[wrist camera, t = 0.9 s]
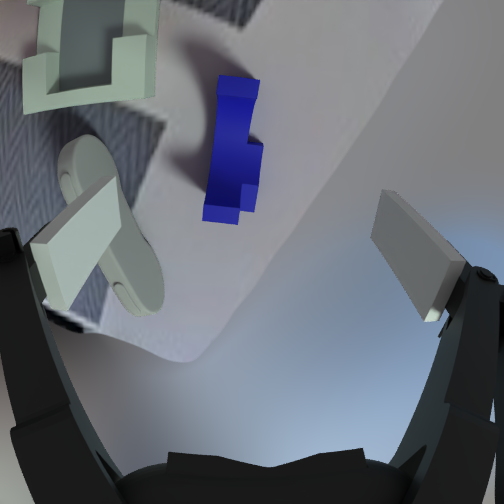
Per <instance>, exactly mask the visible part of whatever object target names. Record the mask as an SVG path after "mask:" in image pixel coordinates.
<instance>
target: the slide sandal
mask: <svg viewBox="0 0 504 504" xmlns="http://www.w3.org/2000/svg"><path fill="white" fill-rule="evenodd" d="M57 174H58V181H59V185H60V189H61V191H62V194H63V196H64V199H65V201H66V203H67V205H70V204H71V203H72V202H73V201H74V200H75V199H76V198H77V197H78V196H80V195H81V194H82V193H83V192H84V191H85V190H86V189H88V188H89V187H90V186H91V185H92V184H94V183H95V182H96V181H97V180H98V179H99V178H101V177H102V176H116V184H117V194H118V203H119V212H120V220H121V228H120V229H119V231H118V232H117V234H116V235H115V237H114V238H113V239H112V241H111V242H110V244H109V245H108V247H107V248H106V250H105V251H104V253H103V254H102V256H101V257H100V259H99V261H98V262H97V263H98V265H99V267H100V269H101V270H102V272H103V274H104V276H105V277H106V279H107V281H108V282H109V284H110V286H111V287H112V289H113V291H114V292H115V294H116V295H117V297H118V299H119V300H120V302H121V303H122V305H123V306H124V307H125V309H126V310H127V311H128V312H129V313H131V314H132V315H134V316H137V317H142V316H147V315H152V314H156V313H157V312H159V311H160V309H161V308H162V305H163V302H164V280H163V275H162V270H161V267H160V264H159V261H158V259H157V257H156V255H155V253H154V251H153V249H152V248H151V246H150V245H149V244H148V243H147V242H146V241H145V240H144V238H143V236H142V234H141V232H140V230H139V228H138V226H137V223H136V221H135V219H134V217H133V215H132V212H131V210H130V208H129V206H128V204H127V201H126V199H125V197H124V194H123V192H122V189H121V185H120V179H119V175H118V171H117V168H116V165H115V162H114V160H113V158H112V156H111V154H110V152H109V151H108V149H107V148H106V146H105V145H104V144H103V143H102V142H101V141H100V140H99V139H98V138H97V137H95V136H93V135H89V134H86V135H82V136H80V137H78V138H76V139H74V140H72V141H70V142H69V143H67V144H66V145H65V146H64V147H63V148H62V150H61V152H60V154H59V158H58V164H57Z"/></svg>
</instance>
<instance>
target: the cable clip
mask: <svg viewBox="0 0 504 504" xmlns="http://www.w3.org/2000/svg"><path fill="white" fill-rule="evenodd" d="M259 84H260V80H256V79H249V78H242V77H233V76H224V75H219V79H218V86H217V93H216V94H217V99H218V101H217V117H216V127H215V135H214V144H213V152H212V159H211V166H210V173H209V179H208V185H207V191H206V196H205V201H204V206H203V218H202V221H209V222H218V223H226V224H235V225H238V220H239V213H240V211H247V212H254V210H255V204H256V199H257V193H258V187H259V176H260V167H261V160H262V153H263V147H264V146H263V143H257V142H250V141H248V135H249V129H250V124H251V118H252V113H253V109H254V105H255V101H256V99H257V96H258V90H259Z"/></svg>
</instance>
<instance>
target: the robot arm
mask: <svg viewBox="0 0 504 504" xmlns="http://www.w3.org/2000/svg"><path fill="white" fill-rule="evenodd" d="M120 228H121V220H120V212H119V203H118V194H117V184H116V176H102V177H101V178H99V179H98V180H97V181H96V182H95V183H94V184H92V185H91V186H90V187H89V188H88V189H86V190H85V191H84V192H83V193H82V194H81V195H80V196H78V197H77V198H76V199H75V200H74V201H73V202H72V203H71V204H70V205H68V206H67V207H66V208H65V209H64V210H63V211H62V212H61V213H60V214H59V215H58V216H57V217H56V218H54V219H53V220H52V221H50V222H49V223H47V224H45V225H44V226H43V227H42V228H41V229H40V230H39V232H37V233H36V234H35V235H34V237H32V238H31V239H30V240H29V241H28V242H27V243H26V244H25V245H24V246H22V242H21V239H20V235H19V231H18V230H17V228H13V227H12V228H5V229H2V230H0V353H1V359H2V365H3V370H4V376H5V381H6V385H7V390H8V394H9V398H10V402H11V406H12V410H13V414H14V417H15V421H16V426H15V427H13V428H11V430H10V435H11V440H12V444H13V447H14V450H15V453H16V456H17V459H18V462H19V465H20V468H21V470H22V473H23V476H24V478H25V481H26V483H27V486H28V488H29V491H30V493H31V495H32V498H33V500H34V502H35V504H482V501H483V498H484V495H485V492H486V488H487V485H488V481H489V478H490V474H491V470H492V466H493V462H494V458H495V453H496V471H495V504H504V285H500V284H499V282H498V279H497V278H496V276H495V275H494V274H493V273H491V272H490V271H489V270H487V269H485V268H482V267H478V266H474V267H472V266H471V265H470V264H469V263H468V262H467V261H466V260H465V258H464V257H463V256H462V255H461V254H459V252H458V251H457V250H456V249H454V247H453V246H452V245H451V244H450V243H449V242H448V241H447V240H446V239H445V238H444V237H443V236H442V235H441V234H440V233H439V232H438V231H437V230H436V229H435V228H434V227H433V226H432V225H431V224H430V223H429V222H428V221H427V220H426V219H424V218H423V217H422V216H421V215H420V214H419V213H418V212H417V211H416V210H415V209H414V208H413V207H412V206H411V205H410V204H408V203H407V202H406V201H405V200H404V199H403V198H402V197H401V196H400V195H399V194H397V193H396V192H395V191H390V190H382V191H381V196H380V200H379V204H378V209H377V213H376V217H375V222H374V226H373V229H372V233H371V239H372V241H373V242H374V243H375V245H376V246H377V247H378V249H379V251H380V252H381V254H382V255H383V257H384V258H385V260H386V261H387V263H388V264H389V266H390V267H391V269H392V271H393V272H394V274H395V275H396V277H397V278H398V280H399V281H400V283H401V284H402V286H403V288H404V289H405V291H406V293H407V294H408V296H409V297H410V299H411V301H412V303H413V304H414V306H415V307H416V309H417V311H418V313H419V314H420V316H421V318H422V319H423V321H424V322H429V321H439V319H440V317H441V316H442V313H443V311H444V310H445V308H446V310H447V311H448V313H449V317H448V319H447V320H446V322H445V324H444V326H443V328H442V330H441V332H440V334H439V335H438V337H439V338H440V337H441V340H440V343H439V346H438V350H437V353H436V356H435V359H434V362H433V365H432V368H431V371H430V374H429V376H428V379H427V382H426V385H425V387H424V390H423V393H422V395H421V398H420V400H419V403H418V405H417V407H416V410H415V412H414V415H413V417H412V419H411V422H410V424H409V426H408V428H407V431H406V433H405V435H404V437H403V439H402V441H401V443H400V445H399V447H398V449H397V451H396V453H395V455H394V457H393V458H392V460H391V461H390V462H389V464H386V463H383V462H380V461H375V460H370V459H365V455H364V451H363V448H358V449H352V450H345V451H337V452H327V453H319V454H316V455H312V456H309V457H306V458H303V459H300V460H297V461H294V462H290V463H286V464H283V465H279V466H276V467H262V466H258V465H253V464H248V463H244V462H240V461H235V460H232V459H227V458H224V457H220V456H211V455H197V454H185V453H175V452H168V460H167V463H162V464H157V465H151V466H147V467H144V468H142V469H138V470H136V471H134V472H132V473H130V474H128V475H126V476H123V475H122V473H121V472H120V471H119V469H118V468H117V466H116V465H115V463H114V462H113V461H112V459H111V458H110V456H109V454H108V453H107V451H106V449H105V448H104V446H103V444H102V442H101V441H100V439H99V437H98V435H97V433H96V432H95V430H94V428H93V426H92V424H91V422H90V420H89V418H88V416H87V414H86V412H85V410H84V408H83V406H82V404H81V402H80V400H79V398H78V396H77V393H76V391H75V389H74V387H73V385H72V382H71V380H70V378H69V376H68V373H67V371H66V368H65V366H64V363H63V361H62V358H61V356H60V353H59V351H58V348H57V345H56V342H55V340H54V337H53V334H52V331H51V328H50V325H49V322H48V319H47V316H46V313H45V310H44V307H43V305H42V302H43V300H44V299H45V297H46V296H47V299H48V302H49V304H50V307H51V309H57V310H64V311H68V310H69V308H70V306H71V304H72V303H73V301H74V299H75V298H76V296H77V294H78V293H79V291H80V289H81V288H82V286H83V284H84V283H85V281H86V279H87V278H88V276H89V275H90V273H91V271H92V270H93V268H94V267H95V265H96V264H97V262H98V261H99V259H100V257H101V256H102V254H103V253H104V251H105V250H106V248H107V247H108V245H109V244H110V242H111V241H112V239H113V238H114V237H115V235H116V234H117V232H118V231H119V229H120ZM493 398H494V410H495V423H493V422H491V421H490V415H491V409H492V403H493Z"/></svg>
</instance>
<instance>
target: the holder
mask: <svg viewBox="0 0 504 504" xmlns="http://www.w3.org/2000/svg"><path fill="white" fill-rule="evenodd" d="M27 5H32V6H37V7H40V14H39V24H38V37H37V55H35V56H32V57H29V58H25V59H23V74H22V78H23V111H24V115H26V114H30V113H35V112H41V111H46V110H51V109H57V108H64V107H70V106H77V105H84V104H92V103H101V102H110V101H121V100H134V99H146V98H150V97H154V96H155V73H156V49H157V32H158V18H159V6H160V0H28V1H27Z"/></svg>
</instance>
